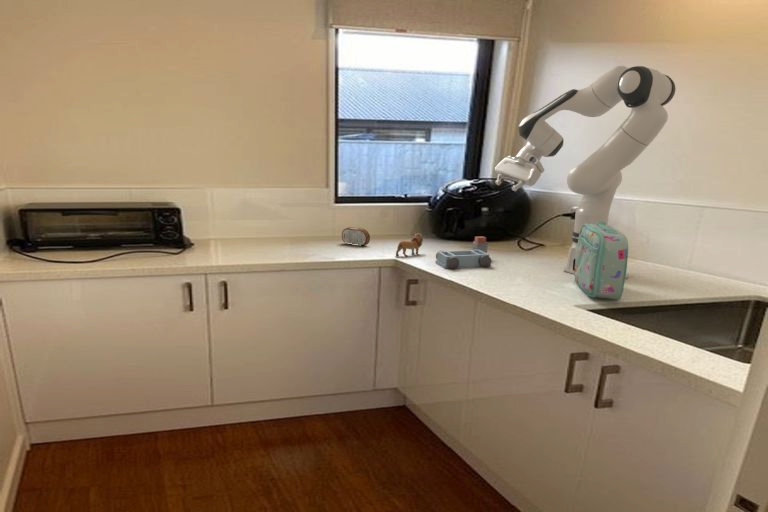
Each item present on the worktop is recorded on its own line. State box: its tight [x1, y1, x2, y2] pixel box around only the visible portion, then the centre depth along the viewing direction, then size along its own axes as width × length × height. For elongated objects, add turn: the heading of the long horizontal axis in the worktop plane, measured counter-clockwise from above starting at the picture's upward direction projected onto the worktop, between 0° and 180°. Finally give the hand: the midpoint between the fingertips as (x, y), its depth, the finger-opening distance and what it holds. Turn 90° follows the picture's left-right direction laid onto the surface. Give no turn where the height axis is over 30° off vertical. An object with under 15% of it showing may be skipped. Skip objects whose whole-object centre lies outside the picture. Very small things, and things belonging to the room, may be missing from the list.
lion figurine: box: [395, 232, 424, 258], centre depth 202 cm, size 15×5×9 cm, turn 130°
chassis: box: [435, 248, 492, 270], centre depth 186 cm, size 14×19×4 cm
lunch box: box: [573, 221, 629, 301], centre depth 147 cm, size 27×10×21 cm, turn 171°
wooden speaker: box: [341, 226, 371, 246], centre depth 226 cm, size 15×3×8 cm, turn 58°
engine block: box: [472, 235, 489, 254], centre depth 196 cm, size 4×4×9 cm
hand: (504, 186), depth 194 cm, fingers open, 8 cm apart
